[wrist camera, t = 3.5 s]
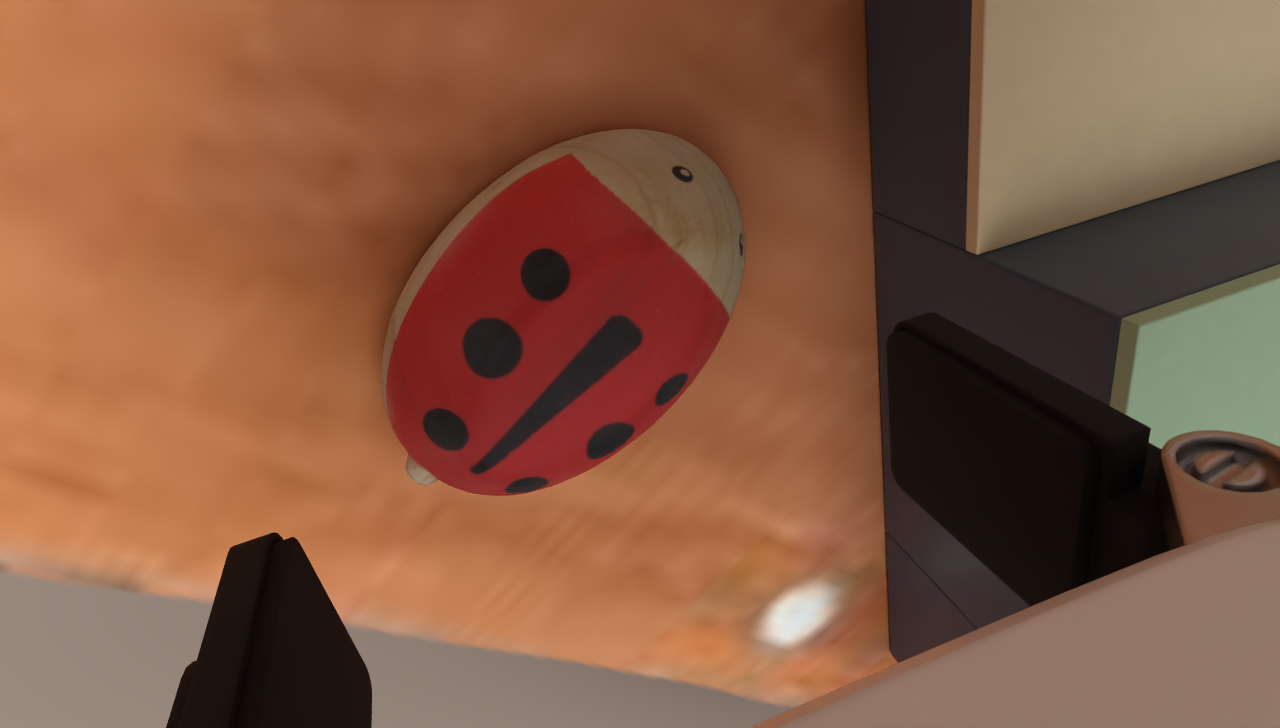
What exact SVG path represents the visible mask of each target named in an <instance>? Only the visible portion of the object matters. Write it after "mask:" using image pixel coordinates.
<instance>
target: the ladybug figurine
mask: <svg viewBox="0 0 1280 728" xmlns="http://www.w3.org/2000/svg"><path fill="white" fill-rule="evenodd" d="M744 262H745V234H744V226H743V221H742V216H741V212H740V208H739V205H738V202H737V199H736V196H735V194H734V191H733V190H732V188H731V186H730V184H729V182H728V180H727V179H726V177H725V175H724V174H723V173H722V171H721V170H720V169H719V167H718V166H717V165H716V164H715V163H714V162H713V160H712V159H711V158H709V157H708V156H707V155H706V154H705V153H704V152H703V151H701V150H700V149H699V148H697V147H696V146H694V145H693V144H691V143H689V142H687V141H685V140H683V139H681V138H679V137H677V136H674V135H671V134H667V133H662V132H657V131H651V130H645V129H617V130H608V131H602V132H596V133H592V134H588V135H583V136H580V137H577V138H573V139H570V140H567V141H564V142H561V143H559V144H556V145H554V146H552V147H549V148H547V149H545V150H543V151H541V152H539V153H537V154H535V155H533V156H531V157H529V158H528V159H526V160H525V161H523V162H521V163H520V164H518V165H517V166H515V167H514V168H512V169H511V170H509V171H508V172H506V173H505V174H504V175H502V176H501V177H499V178H498V179H497V180H495V181H494V182H493V183H492V184H491V185H489V186H488V187H487V188H486V189H484V190H483V191H482V192H481V193H480V194H478V195H477V196H476V197H475V198H474V199H473V200H472V201H471V202H470V203H469V204H467V205H466V206H465V207H464V208H463V209H462V210H461V211H460V212H459V213H458V214H457V215H456V217H455V218H454V219H453V220H452V221H451V222H450V223H449V224H448V225H447V227H446V228H445V229H444V230H443V231H442V232H441V234H440V235H439V236H438V237H437V239H436V240H435V241H434V242H433V243H432V245H431V246H430V247H429V249H428V250H427V251H426V253H425V254H424V255H423V257H422V259H421V260H420V262H419V263H418V265H417V266H416V268H415V269H414V271H413V273H412V275H411V276H410V278H409V280H408V282H407V284H406V285H405V287H404V289H403V291H402V293H401V295H400V297H399V299H398V301H397V304H396V306H395V309H394V311H393V314H392V317H391V320H390V323H389V327H388V331H387V335H386V338H385V344H384V349H383V357H382V394H383V400H384V405H385V409H386V412H387V415H388V419H389V421H390V424H391V426H392V428H393V430H394V432H395V434H396V436H397V438H398V439H399V441H400V442H401V444H402V445H403V446H404V447H405V449H406V450H407V452H408V458H407V461H406V470H407V473H408V475H409V476H410V478H411V479H412V480H413V481H415V482H416V483H418V484H421V485H430V484H432V483H434V482H436V481H437V480H440V481H442V482H444V483H446V484H448V485H450V486H452V487H455V488H457V489H460V490H463V491H466V492H470V493H475V494H481V495H494V496H508V495H517V494H523V493H528V492H532V491H536V490H540V489H543V488H547V487H550V486H553V485H556V484H558V483H561V482H563V481H566V480H568V479H570V478H573V477H575V476H577V475H579V474H581V473H583V472H585V471H587V470H589V469H591V468H593V467H595V466H596V465H598V464H600V463H601V462H603V461H605V460H606V459H608V458H610V457H611V456H612V455H614V454H615V453H617V452H618V451H620V450H621V449H623V448H624V447H625V446H627V445H628V444H629V443H631V442H632V441H633V440H635V439H636V438H637V437H639V436H640V435H641V434H642V433H644V432H645V431H646V430H647V429H648V428H649V427H651V426H652V425H653V424H654V423H655V422H656V421H657V420H658V419H659V418H660V417H661V416H662V415H663V414H664V413H665V412H666V411H667V410H668V409H669V408H670V407H671V406H672V405H673V404H674V403H675V402H676V401H677V400H678V398H679V397H680V396H681V395H682V394H683V393H684V391H685V390H686V389H687V388H688V387H689V385H690V384H691V383H692V382H693V380H694V379H695V377H696V376H697V375H698V373H699V372H700V370H701V369H702V368H703V366H704V365H705V363H706V362H707V360H708V359H709V357H710V356H711V354H712V352H713V351H714V349H715V347H716V345H717V343H718V342H719V340H720V338H721V336H722V334H723V332H724V330H725V328H726V326H727V323H728V321H729V319H730V317H731V314H732V311H733V308H734V305H735V302H736V299H737V296H738V293H739V290H740V286H741V282H742V277H743V271H744Z"/></svg>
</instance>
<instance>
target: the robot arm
mask: <svg viewBox="0 0 1280 728" xmlns="http://www.w3.org/2000/svg"><path fill="white" fill-rule="evenodd" d="M886 347H887V374H888V400H889V427H890V453H891V470H892V474H893V477H894V479H895V481H896V483H897V484H898V486H899V487H900V488H901V489H902V490H903V491H904V492H905V493H906V494H907V495H908V496H909V497H910V498H911V499H913V500H914V501H915V502H916V503H917V504H918V505H919V506H920V507H921V508H922V509H923V510H925V511H926V512H927V513H928V514H929V515H930V516H931V517H932V518H933V519H934V520H936V521H937V522H938V523H939V524H940V525H941V526H942V527H943V528H944V529H945V530H947V531H948V532H949V533H950V534H951V535H952V536H953V537H954V538H955V539H956V540H957V541H959V542H960V543H961V544H962V545H963V546H964V547H965V548H966V549H967V550H968V551H970V552H971V553H972V554H973V555H974V556H975V557H976V558H977V559H978V560H979V561H981V562H982V563H983V564H984V565H985V566H986V567H987V568H988V569H989V570H990V571H991V572H993V573H994V574H995V575H996V576H997V577H998V578H999V579H1000V580H1001V581H1002V582H1004V583H1005V584H1006V585H1007V586H1008V587H1009V588H1010V589H1011V590H1012V591H1013V592H1015V593H1016V594H1017V595H1018V596H1019V597H1020V598H1021V599H1022V600H1023V601H1024V602H1025V603H1027V604H1028V605H1029V606H1030V607H1029V608H1027V609H1024V610H1022V611H1020V612H1017V613H1015V614H1012V615H1010V616H1008V617H1005V618H1003V619H1001V620H998V621H996V622H994V623H991V624H989V625H987V626H984V627H982V628H980V629H977V630H975V631H972V632H970V633H968V634H965V635H963V636H961V637H958V638H956V639H954V640H951V641H949V642H947V643H944V644H942V645H940V646H937V647H935V648H932V649H930V650H928V651H925V652H923V653H921V654H918V655H916V656H914V657H911V658H909V659H907V660H904V661H902V662H900V663H897V664H895V665H893V666H890V667H888V668H886V669H883V670H881V671H879V672H876V673H874V674H872V675H869V676H867V677H865V678H863V679H860V680H858V681H856V682H853V683H851V684H849V685H846V686H844V687H842V688H839V689H837V690H835V691H832V692H830V693H828V694H825V695H823V696H821V697H818V698H816V699H814V700H811V701H809V702H807V703H805V704H802V705H800V706H798V707H795V708H793V709H791V710H789V711H786V712H784V713H782V714H779V715H777V716H775V717H772V718H770V719H768V720H765V721H763V722H761V723H758V724H756V725H754V726H751V727H749V728H1280V447H1279V446H1277V445H1275V444H1272V443H1270V442H1267V441H1265V440H1263V439H1260V438H1257V437H1253V436H1249V435H1245V434H1241V433H1236V432H1228V431H1220V430H1200V431H1193V432H1188V433H1183V434H1179V435H1177V436H1175V437H1173V438H1171V439H1169V440H1168V441H1167V442H1166V443H1165V445H1164V446H1163V447H1162V449H1160V448H1158V447H1156V446H1154V445H1153V444H1151V443H1149V437H1150V431H1151V428H1150V427H1148V426H1146V425H1144V424H1142V423H1140V422H1139V421H1137V420H1135V419H1133V418H1131V417H1129V416H1127V415H1126V414H1124V413H1122V412H1120V411H1118V410H1116V409H1114V408H1112V407H1111V406H1109V405H1107V404H1105V403H1103V402H1101V401H1099V400H1098V399H1096V398H1094V397H1092V396H1090V395H1088V394H1086V393H1084V392H1083V391H1081V390H1079V389H1077V388H1075V387H1073V386H1071V385H1069V384H1068V383H1066V382H1064V381H1062V380H1060V379H1058V378H1056V377H1055V376H1053V375H1051V374H1049V373H1047V372H1045V371H1043V370H1041V369H1040V368H1038V367H1036V366H1034V365H1032V364H1030V363H1028V362H1027V361H1025V360H1023V359H1021V358H1019V357H1017V356H1015V355H1013V354H1012V353H1010V352H1008V351H1006V350H1004V349H1002V348H1000V347H999V346H997V345H995V344H993V343H991V342H989V341H987V340H985V339H984V338H982V337H980V336H978V335H976V334H974V333H972V332H970V331H969V330H967V329H965V328H963V327H961V326H959V325H957V324H956V323H954V322H952V321H950V320H948V319H946V318H944V317H942V316H941V315H939V314H937V313H934V312H928V313H925V314H922V315H919V316H916V317H913V318H910V319H907V320H904V321H901V322H898V323H897V324H896V325H895V327H894V330H893V334H890V335H889V336H888V338H887V344H886ZM371 720H372V687H371V681H370V676H369V673H368V670H367V668H366V665H365V663H364V662H363V660H362V658H361V656H360V654H359V652H358V650H357V649H356V647H355V645H354V643H353V641H352V639H351V637H350V636H349V634H348V632H347V630H346V628H345V626H344V624H343V623H342V621H341V619H340V617H339V615H338V613H337V611H336V610H335V608H334V606H333V604H332V602H331V600H330V598H329V597H328V595H327V593H326V591H325V589H324V587H323V585H322V584H321V582H320V580H319V578H318V576H317V574H316V572H315V571H314V569H313V567H312V565H311V563H310V561H309V560H308V558H307V556H306V554H305V552H304V550H303V548H302V547H301V545H300V543H299V542H298V540H297V539H296V538H294V537H291V538H288V539H285V540H283V538H282V537H281V536H280V535H279V534H278V533H271V534H268V535H265V536H262V537H259V538H256V539H253V540H250V541H247V542H244V543H241V544H238V545H235V546H233V547H231V548H230V550H229V552H228V555H227V558H226V562H225V565H224V569H223V572H222V575H221V579H220V582H219V586H218V589H217V593H216V596H215V600H214V603H213V606H212V610H211V613H210V617H209V620H208V624H207V627H206V631H205V634H204V638H203V641H202V644H201V648H200V651H199V655H198V658H197V661H194V662H192V663H191V664H190V665H189V666H187V667H186V669H185V671H184V674H183V676H182V678H181V681H180V684H179V687H178V690H177V694H176V697H175V700H174V704H173V707H172V710H171V713H170V717H169V720H168V723H167V727H166V728H371Z"/></svg>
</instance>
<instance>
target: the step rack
mask: <svg viewBox="0 0 1280 728" xmlns="http://www.w3.org/2000/svg"><path fill="white" fill-rule="evenodd" d="M866 23H867V50H868V77H869V103H870V130H871V156H872V183H873V209H874V211H876V212H874V226H875V253H876V280H877V307H878V333H879V360H880V387H881V414H882V441H883V467H884V494H885V521H886V531H887V532H886V544H887V571H888V598H889V625H890V652H891V654H892V655H893V657H894V658H895V659H896V660H897V662H898V663H900V662H902V661H904V660H907V659H909V658H911V657H914V656H916V655H918V654H921V653H923V652H925V651H928V650H930V649H932V648H935V647H937V646H940V645H942V644H944V643H947V642H949V641H951V640H954V639H956V638H958V637H961V636H963V635H965V634H968V633H970V632H972V631H975V630H977V629H980V628H982V627H984V626H987V625H989V624H991V623H994V622H996V621H998V620H1001V619H1003V618H1005V617H1008V616H1010V615H1012V614H1015V613H1017V612H1020V611H1022V610H1024V609H1027V608H1029V607H1030V606H1029V605H1028V604H1027V603H1025V602H1024V601H1023V600H1022V599H1021V598H1020V597H1019V596H1018V595H1017V594H1016V593H1015V592H1013V591H1012V590H1011V589H1010V588H1009V587H1008V586H1007V585H1006V584H1005V583H1004V582H1002V581H1001V580H1000V579H999V578H998V577H997V576H996V575H995V574H994V573H993V572H991V571H990V570H989V569H988V568H987V567H986V566H985V565H984V564H983V563H982V562H981V561H979V560H978V559H977V558H976V557H975V556H974V555H973V554H972V553H971V552H970V551H968V550H967V549H966V548H965V547H964V546H963V545H962V544H961V543H960V542H959V541H957V540H956V539H955V538H954V537H953V536H952V535H951V534H950V533H949V532H948V531H947V530H945V529H944V528H943V527H942V526H941V525H940V524H939V523H938V522H937V521H936V520H934V519H933V518H932V517H931V516H930V515H929V514H928V513H927V512H926V511H925V510H923V509H922V508H921V507H920V506H919V505H918V504H917V503H916V502H915V501H914V500H913V499H911V498H910V497H909V496H908V495H907V494H906V493H905V492H904V491H903V490H902V489H901V488H900V487H899V486H898V484H897V483H896V481H895V479H894V477H893V474H892V470H891V453H890V427H889V400H888V374H887V347H886V344H887V338H888V336H889V335H890V334H893V330H894V327H895V325H896V324H897V323H898V322H901V321H904V320H907V319H910V318H913V317H916V316H919V315H922V314H925V313H928V312H934V313H937V314H939V315H941V316H942V317H944V318H946V319H948V320H950V321H952V322H954V323H956V324H957V325H959V326H961V327H963V328H965V329H967V330H969V331H970V332H972V333H974V334H976V335H978V336H980V337H982V338H984V339H985V340H987V341H989V342H991V343H993V344H995V345H997V346H999V347H1000V348H1002V349H1004V350H1006V351H1008V352H1010V353H1012V354H1013V355H1015V356H1017V357H1019V358H1021V359H1023V360H1025V361H1027V362H1028V363H1030V364H1032V365H1034V366H1036V367H1038V368H1040V369H1041V370H1043V371H1045V372H1047V373H1049V374H1051V375H1053V376H1055V377H1056V378H1058V379H1060V380H1062V381H1064V382H1066V383H1068V384H1069V385H1071V386H1073V387H1075V388H1077V389H1079V390H1081V391H1083V392H1084V393H1086V394H1088V395H1090V396H1092V397H1094V398H1096V399H1098V400H1099V401H1101V402H1103V403H1105V404H1107V405H1109V406H1111V407H1112V408H1114V409H1116V410H1118V411H1120V412H1122V413H1124V414H1126V415H1127V416H1129V417H1131V418H1133V419H1135V420H1137V421H1139V422H1140V423H1142V424H1144V425H1146V426H1148V427H1150V428H1151V431H1150V437H1149V443H1151V444H1153V445H1154V446H1156V447H1158V448H1160V449H1162V447H1163V446H1164V445H1165V443H1166V442H1167V441H1168V440H1169V439H1171V438H1173V437H1175V436H1177V435H1179V434H1183V433H1188V432H1193V431H1200V430H1220V431H1228V432H1236V433H1241V434H1245V435H1249V436H1253V437H1257V438H1260V439H1263V440H1265V441H1267V442H1270V443H1272V444H1275V445H1277V446H1279V447H1280V0H866Z"/></svg>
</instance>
